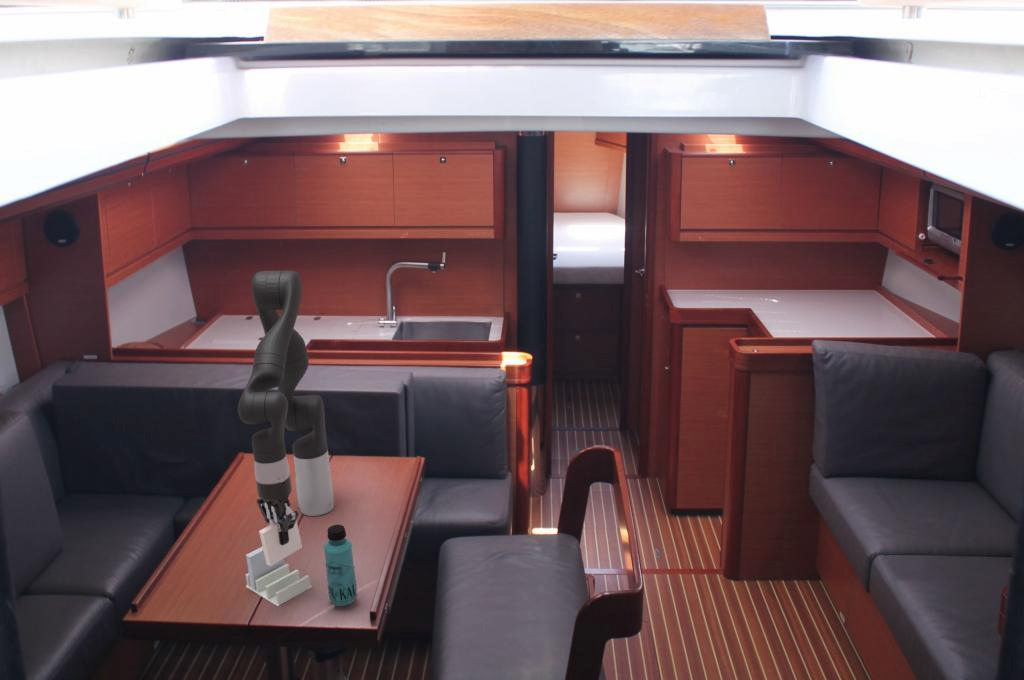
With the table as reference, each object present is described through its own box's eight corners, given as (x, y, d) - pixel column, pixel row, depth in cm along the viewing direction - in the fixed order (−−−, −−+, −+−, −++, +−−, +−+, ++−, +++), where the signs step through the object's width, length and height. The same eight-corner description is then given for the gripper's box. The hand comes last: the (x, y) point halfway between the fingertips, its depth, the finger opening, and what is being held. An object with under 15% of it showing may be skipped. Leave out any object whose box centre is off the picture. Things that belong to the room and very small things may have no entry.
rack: (277, 609, 223) (275, 595, 222) (245, 588, 231) (243, 575, 230) (312, 589, 230) (311, 575, 229) (280, 570, 238) (278, 556, 237)
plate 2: (251, 587, 230) (245, 554, 227) (282, 570, 237) (277, 538, 234) (254, 589, 229) (249, 557, 226) (286, 573, 236) (281, 540, 233)
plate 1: (266, 564, 222) (258, 531, 219) (298, 544, 228) (291, 512, 225) (270, 566, 221) (263, 533, 218) (302, 547, 227) (295, 514, 224)
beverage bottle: (331, 596, 227) (322, 521, 220) (359, 594, 227) (351, 519, 221) (328, 613, 221) (319, 536, 214) (357, 610, 221) (349, 534, 215)
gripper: (241, 472, 219) (251, 539, 225) (276, 490, 211) (286, 559, 216) (268, 460, 225) (277, 526, 230) (304, 477, 216) (313, 545, 222)
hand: (281, 542), depth 223 cm, fingers closed on plate 1, 1 cm apart
